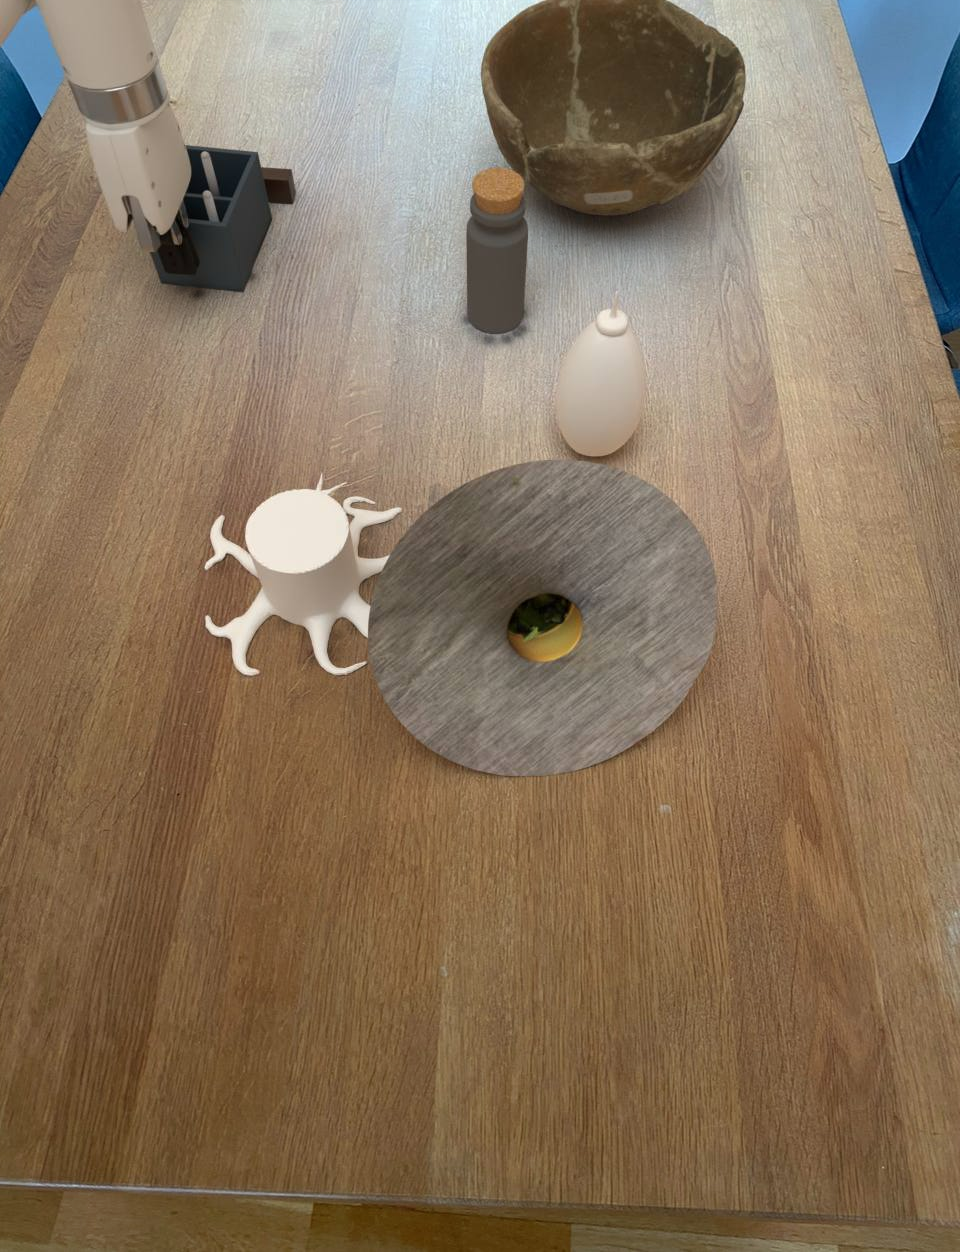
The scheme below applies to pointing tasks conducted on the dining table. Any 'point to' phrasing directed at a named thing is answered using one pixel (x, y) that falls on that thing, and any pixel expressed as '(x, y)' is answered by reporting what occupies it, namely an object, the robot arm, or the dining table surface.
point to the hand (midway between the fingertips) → (183, 268)
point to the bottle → (496, 251)
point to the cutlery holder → (223, 218)
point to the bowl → (611, 100)
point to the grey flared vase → (542, 618)
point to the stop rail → (279, 185)
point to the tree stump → (302, 568)
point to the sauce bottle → (601, 386)
